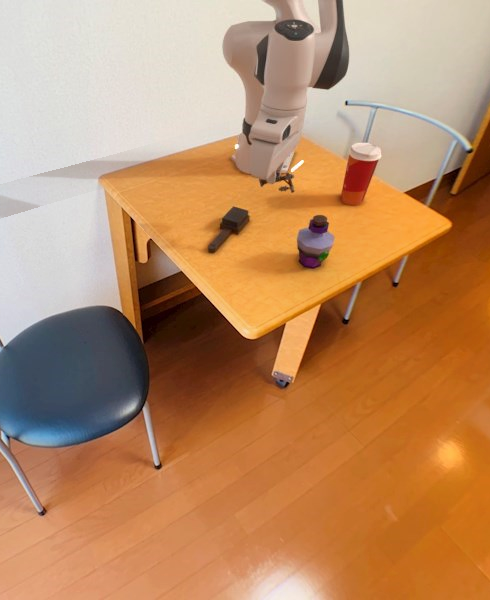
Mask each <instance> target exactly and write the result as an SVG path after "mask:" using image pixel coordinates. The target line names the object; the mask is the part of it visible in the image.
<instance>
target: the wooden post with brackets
mask: <svg viewBox="0 0 490 600" xmlns="http://www.w3.org/2000/svg"><path fill="white" fill-rule="evenodd" d="M294 178H295V174H292V173H290V172H286V173H285V175H281V176H278V177H277V180H276V182H275V183H278V182H282V181H284V182H285V183H286V184H287V185H288V186H287V185H284V186H282V185H281V186H280V187H278V191H279V192H281V193H282V192H285V193H286V192H287V191H288V190H289V191H290V194H293V193H295V192H296V191H295V187H294V184H293V181H292V180H293V179H294ZM258 183H259V185H260V188H263V187H264V186H265V185H268V183H267V180H262V179H258Z"/></svg>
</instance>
